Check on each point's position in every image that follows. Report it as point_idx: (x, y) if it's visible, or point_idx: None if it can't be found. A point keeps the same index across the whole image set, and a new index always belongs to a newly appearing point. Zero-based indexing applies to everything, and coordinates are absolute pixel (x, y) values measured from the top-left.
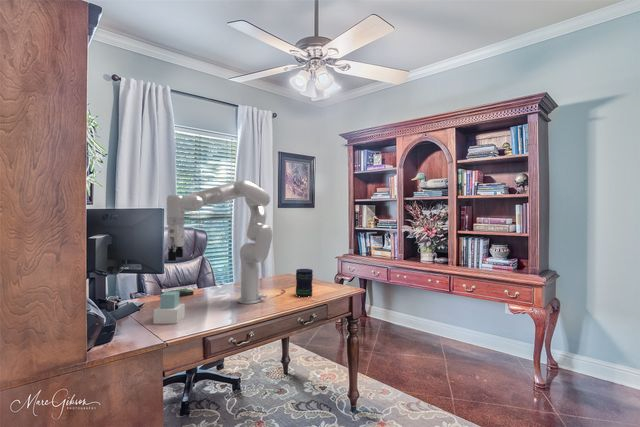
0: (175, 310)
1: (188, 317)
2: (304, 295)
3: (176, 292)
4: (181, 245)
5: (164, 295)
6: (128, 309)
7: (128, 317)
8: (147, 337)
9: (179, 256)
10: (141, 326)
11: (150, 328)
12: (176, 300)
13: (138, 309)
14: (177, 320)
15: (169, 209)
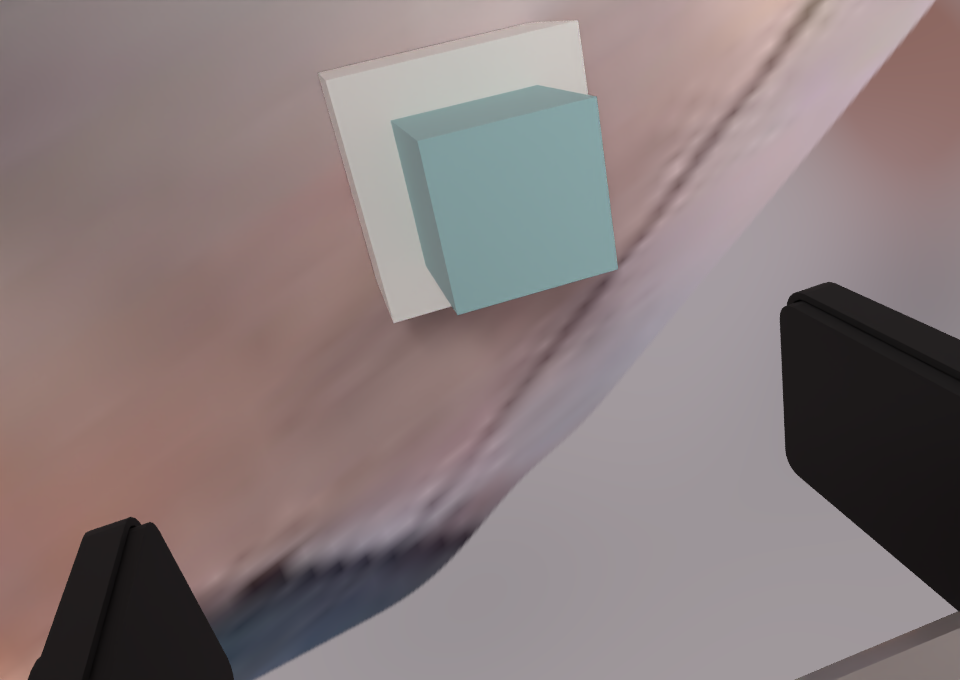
0: (579, 41)
1: (340, 11)
2: None
3: (481, 145)
4: (879, 676)
5: (607, 222)
6: (287, 646)
7: (463, 501)
8: (829, 72)
9: (182, 604)
10: (629, 272)
11: (662, 176)
12: (498, 106)
13: (261, 586)
14: (531, 24)
15: None
